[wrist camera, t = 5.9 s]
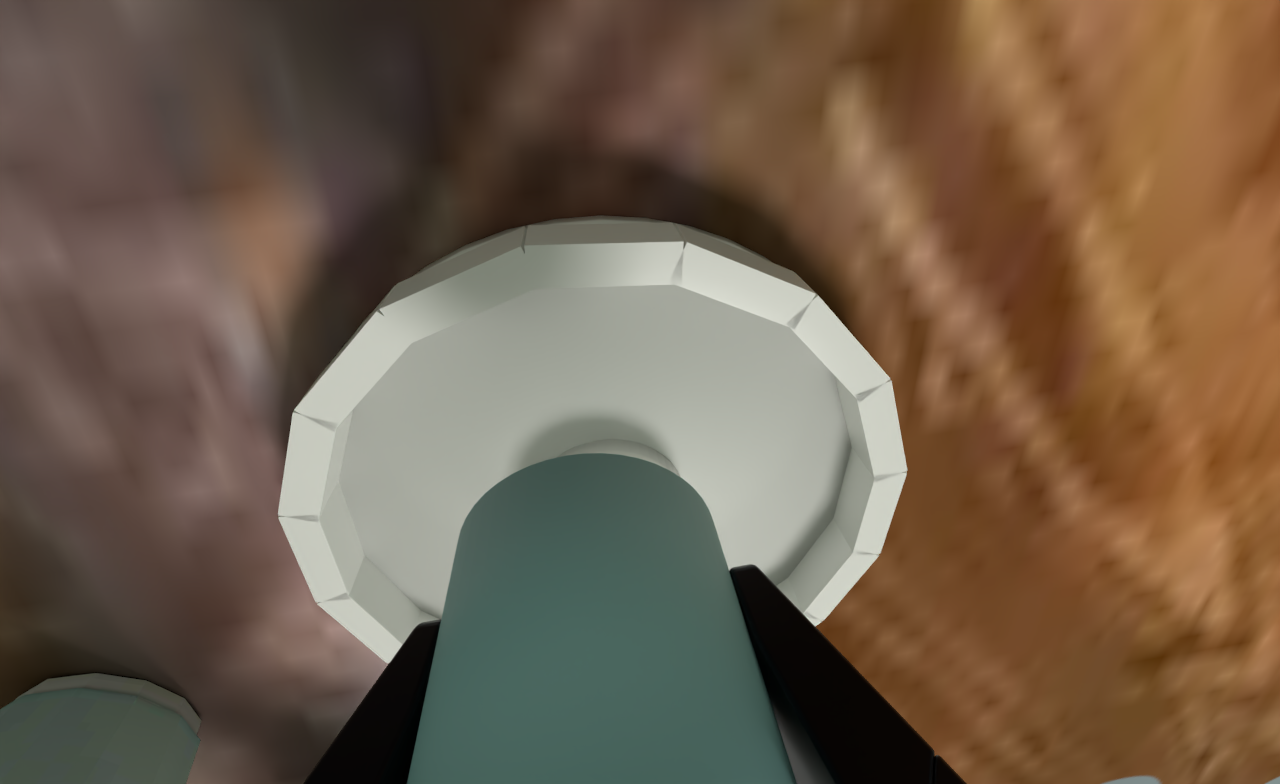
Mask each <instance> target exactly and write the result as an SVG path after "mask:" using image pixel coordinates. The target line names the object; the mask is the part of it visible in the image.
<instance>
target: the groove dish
mask: <svg viewBox="0 0 1280 784" xmlns="http://www.w3.org/2000/svg"><path fill="white" fill-rule="evenodd" d="M583 453H607V454H618V455H625V456H630V457H635V458H639V459H642V460H646V461H649V462H652V463H655V464H657V465H659V466H661V467H664V468H666V469H668V470H670V471H672V472H673V473H675V474H676V475H678V476H679V477H681V478H683V479H684V480H685V481H686V482H687V483H688V484H690V485H691V486H692V487H693V488H694V489H695V490H696V491H697V492H698V494H699V495H700V496H701V497H702V498H703V500H704V502H705V503H706V505H707V507H708V508H709V511H710V513H711V516H712V519H713V522H714V525H715V528H716V531H717V534H718V537H719V540H720V544H721V547H722V550H723V553H724V556H725V559H726V562H727V566H728V569H729V571H730V569H731V568H733V567H737V566H743V565H749V564H753V565H756V566H757V567H758V568H759V569H760V570H761V571H762V572H763V573H764V574H765V575H766V576H767V577H768V578H769V579H770V580H771V581H772V582H773V583H774V584H775V585H776V586H777V587H778V588H779V589H780V591H781V592H782V593H783V594H784V595H785V596H786V597H787V598H788V599H789V600H790V601H791V602H792V603H793V604H794V605H795V606H796V607H797V608H798V609H799V610H800V611H801V612H802V613H803V614H804V615H805V616H806V618H807V619H808V620H809V621H810V622H811V623H812V624H813V625H814V626H816V625H818V624H820V623H821V622H822V620H823V621H824V620H825V618H826V617H827V616H828V615H829V614H830V613H831V611H832V610H833V609H834V608H835V607H836V605H837V604H838V603H839V602H840V601H841V600H842V598H843V597H844V596H845V595H846V594H847V593H848V591H849V590H850V589H851V588H852V587H853V586H854V584H855V583H856V582H857V581H858V580H859V579H860V577H861V576H862V575H863V574H864V573H865V571H866V570H867V569H868V568H869V567H870V566H871V564H872V563H873V562H874V561H875V560H876V559H877V557H878V556H879V554H880V553H881V550H882V547H883V544H884V541H885V538H886V535H887V532H888V529H889V526H890V523H891V520H892V517H893V514H894V511H895V508H896V505H897V502H898V499H899V496H900V493H901V490H902V487H903V484H904V481H905V478H906V475H907V472H906V471H907V466H906V460H905V455H904V449H903V443H902V438H901V432H900V426H899V421H898V415H897V409H896V404H895V398H894V393H893V387H892V381H891V380H890V378H889V377H888V375H887V374H886V373H885V372H884V371H883V370H882V368H881V367H880V366H879V365H878V364H877V363H876V361H875V360H874V359H873V358H872V357H871V356H870V355H869V353H868V352H867V351H866V350H865V349H864V348H863V346H862V345H861V344H860V343H859V342H858V341H857V340H856V338H855V337H854V336H853V335H852V334H851V333H850V331H849V330H848V329H847V328H846V327H845V326H844V324H843V323H842V322H841V321H840V320H839V319H838V318H837V316H836V315H835V314H834V313H833V312H832V311H831V309H830V308H829V307H828V306H827V305H826V304H825V303H824V301H823V300H822V299H821V298H820V297H819V296H818V295H817V294H816V293H815V292H814V291H813V290H812V289H811V288H810V287H809V286H808V285H807V284H806V283H805V282H804V281H803V280H802V279H801V278H800V277H799V276H798V275H797V274H796V273H794V272H793V271H791V270H789V269H786V268H784V267H782V266H779V265H777V264H774V263H772V262H771V261H770V260H768V259H767V258H765V257H764V256H762V255H760V254H758V253H756V252H754V251H752V250H750V249H748V248H746V247H744V246H742V245H740V244H738V243H736V242H734V241H732V240H730V239H728V238H725V237H721V236H718V235H715V234H712V233H709V232H706V231H703V230H700V229H697V228H694V227H691V226H688V225H683V224H677V223H672V222H667V221H661V220H656V219H650V218H645V217H623V216H602V215H598V216H586V217H574V218H563V219H552V220H548V221H543V222H539V223H534V224H530V225H525V226H521V227H516V228H512V229H507V230H505V231H502V232H499V233H497V234H494V235H491V236H489V237H486V238H483V239H480V240H478V241H475V242H472V243H470V244H467V245H464V246H463V247H461V248H459V249H457V250H455V251H453V252H451V253H450V254H448V255H446V256H444V257H442V258H440V259H438V260H437V261H435V262H433V263H431V264H429V265H427V266H426V267H424V268H423V269H422V270H420V271H419V272H418V273H416V274H415V275H414V276H412V277H410V278H408V279H406V280H404V281H402V282H399V283H397V284H396V286H394V287H393V288H392V289H391V290H390V291H389V293H388V294H387V295H386V296H385V297H384V299H383V300H382V301H381V302H380V303H379V305H378V306H377V307H376V308H375V309H374V311H373V312H372V313H371V314H370V315H369V316H368V317H367V318H366V319H365V320H364V321H363V322H362V324H361V325H360V327H359V328H358V329H357V331H356V332H355V333H354V335H353V336H352V337H351V338H350V339H349V341H348V342H347V343H346V344H345V345H344V347H343V348H342V349H341V350H340V351H339V353H338V354H337V355H336V356H335V357H334V359H333V360H332V361H331V362H330V363H329V365H328V366H327V367H326V368H325V369H324V371H323V372H322V373H321V374H320V375H319V377H318V378H317V379H316V381H315V382H314V383H313V385H312V386H311V387H310V389H309V390H308V391H307V393H306V394H305V396H304V397H303V398H302V400H301V401H300V402H299V404H298V405H297V406H296V408H295V409H294V411H293V414H292V421H291V428H290V435H289V442H288V448H287V455H286V462H285V469H284V476H283V483H282V489H281V496H280V503H279V510H278V515H279V517H278V518H279V521H280V523H281V525H282V527H283V530H284V532H285V534H286V536H287V539H288V541H289V543H290V545H291V548H292V550H293V552H294V554H295V557H296V559H297V561H298V563H299V566H300V568H301V570H302V572H303V575H304V577H305V579H306V582H307V584H308V586H309V588H310V591H311V593H312V595H313V597H314V600H315V602H318V603H317V604H318V605H319V606H320V607H321V608H322V609H324V610H325V611H326V612H327V613H328V614H329V615H331V616H332V617H333V618H334V619H335V620H336V621H338V622H339V623H340V624H341V625H342V626H344V627H345V628H346V629H347V630H348V631H349V632H351V633H352V634H353V635H354V636H355V637H356V638H358V639H359V640H360V641H361V642H362V643H364V644H365V645H366V646H367V647H368V648H369V649H371V650H372V651H373V652H374V653H375V654H376V655H378V656H379V657H380V658H381V659H382V660H384V661H385V662H386V663H390V662H391V660H392V659H393V657H394V656H395V654H396V653H397V652H398V650H399V649H400V647H401V646H402V645H403V643H404V642H405V640H406V639H407V638H408V636H409V635H410V633H411V632H412V631H413V629H414V628H415V627H416V626H417V625H418V624H420V623H422V622H427V621H432V620H438V619H442V614H443V609H444V605H445V600H446V595H447V590H448V586H449V581H450V576H451V571H452V567H453V562H454V557H455V552H456V548H457V543H458V539H459V534H460V530H461V528H462V526H463V523H464V521H465V519H466V517H467V515H468V514H469V512H470V511H471V509H472V508H473V506H474V505H475V504H476V503H477V502H478V500H479V499H480V498H481V497H482V496H483V495H484V494H485V493H486V492H487V491H489V490H490V489H491V488H492V487H493V486H495V485H496V484H497V483H498V482H500V481H502V480H503V479H505V478H506V477H508V476H509V475H511V474H513V473H515V472H517V471H519V470H521V469H523V468H525V467H528V466H530V465H533V464H536V463H539V462H542V461H545V460H548V459H553V458H557V457H561V456H567V455H575V454H583Z"/></svg>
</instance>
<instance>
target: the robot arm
mask: <svg viewBox="0 0 1280 784" xmlns="http://www.w3.org/2000/svg"><path fill="white" fill-rule="evenodd" d="M729 572H730V575H731V579H732V582H733V585H734V588H735V591H736V594H737V597H738V601H739V604H740V607H741V610H742V613H743V616H744V619H745V623H746V626H747V629H748V632H749V635H750V638H751V641H752V644H753V648H754V651H755V654H756V657H757V660H758V663H759V666H760V669H761V672H762V675H763V679H764V682H765V685H766V688H767V691H768V694H769V697H770V701H771V704H772V707H773V710H774V713H775V716H776V719H777V723H778V726H779V729H780V732H781V735H782V738H783V741H784V745H785V748H786V751H787V754H788V757H789V760H790V763H791V766H792V770H793V773H794V776H795V779H796V782H797V784H966V783H965V782H964V781H963V779H962V778H961V777H960V776H959V775H958V774H957V773H956V772H955V771H954V770H953V769H952V768H951V767H950V766H949V765H948V764H947V763H946V762H945V761H944V760H943V759H942V758H941V757H940V756H939V755H936V756H935V757H934V750H933V749H932V748H931V746H930V745H929V744H928V743H927V742H926V741H925V740H924V739H923V738H922V737H921V736H920V735H919V734H918V733H917V732H916V731H915V730H914V729H913V728H912V727H911V726H910V725H909V724H908V723H907V722H906V720H905V719H904V718H903V717H902V716H901V715H900V714H899V713H898V712H897V711H896V710H895V709H894V708H893V707H892V706H891V705H890V704H889V703H888V702H887V701H886V700H885V699H884V698H883V697H882V696H881V694H880V693H879V692H878V691H877V690H876V689H875V688H874V687H873V686H872V685H871V684H870V683H869V682H868V681H867V680H866V679H865V678H864V677H863V676H862V675H861V674H860V673H859V672H858V671H857V670H856V668H855V667H854V666H853V665H852V664H851V663H850V662H849V661H848V660H847V659H846V658H845V657H844V656H843V655H842V654H841V653H840V652H839V651H838V650H837V649H836V648H835V647H834V646H833V645H832V644H831V642H830V641H829V640H828V639H827V638H826V637H825V636H824V635H823V634H822V633H821V632H820V631H819V630H818V629H817V628H816V627H815V626H814V625H813V624H812V623H811V622H810V621H809V620H808V619H807V618H806V616H805V615H804V614H803V613H802V612H801V611H800V610H799V609H798V608H797V607H796V606H795V605H794V604H793V603H792V602H791V601H790V600H789V599H788V598H787V597H786V596H785V595H784V594H783V593H782V592H781V591H780V589H779V588H778V587H777V586H776V585H775V584H774V583H773V582H772V581H771V580H770V579H769V578H768V577H767V576H766V575H765V574H764V573H763V572H762V571H761V570H760V569H759V568H758V567H757V566H756V565H753V564H749V565H743V566H737V567H733V568H731V569H730V571H729ZM440 624H441V619H438V620H432V621H427V622H422V623H420V624H418V625H417V626H416V627H415V628H414V629H413V631H412V632H411V633H410V635H409V636H408V638H407V639H406V640H405V642H404V643H403V645H402V646H401V647H400V649H399V650H398V652H397V653H396V654H395V656H394V657H393V659H392V660H391V662H390V663H389V664H388V666H387V667H386V669H385V670H384V671H383V673H382V674H381V676H380V677H379V678H378V680H377V681H376V683H375V684H374V685H373V687H372V688H371V690H370V691H369V692H368V694H367V695H366V697H365V698H364V699H363V701H362V702H361V704H360V705H359V706H358V708H357V709H356V711H355V712H354V713H353V715H352V716H351V718H350V719H349V720H348V722H347V723H346V725H345V726H344V727H343V729H342V730H341V732H340V733H339V734H338V736H337V737H336V739H335V740H334V741H333V743H332V744H331V746H330V747H329V748H328V750H327V751H326V753H325V754H324V755H323V757H322V758H321V760H320V761H319V762H318V764H317V765H316V767H315V768H314V769H313V771H312V772H311V774H310V775H309V776H308V778H307V779H306V781H305V782H304V783H303V784H407V781H408V776H409V771H410V766H411V762H412V757H413V752H414V747H415V743H416V738H417V733H418V728H419V723H420V719H421V714H422V709H423V704H424V700H425V695H426V690H427V685H428V681H429V676H430V671H431V666H432V662H433V657H434V652H435V647H436V643H437V638H438V633H439V628H440Z"/></svg>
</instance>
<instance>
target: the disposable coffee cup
mask: <svg viewBox="0 0 1280 784" xmlns="http://www.w3.org/2000/svg"><path fill="white" fill-rule="evenodd" d="M200 724H201V720H200V718H199V717H198V715H197V714H196V713H195V711H194V710H193V709H192V707H191V706H190V705H189V703H188V702H187V701H186V699H185V698H183V697H181V696H179V695H176V694H174V693H172V692H170V691H168V690H166V689H164V688H161V687H159V686H157V685H155V684H153V683H151V682H149V681H146V680H139V679H133V678H126V677H119V676H112V675H106V674H99V673H92V674H84V675H76V676H68V677H60V678H52V679H47V680H45V681H43V682H42V683H40V684H38V685H37V686H35V687H33V688H32V689H30V690H28V691H27V692H25V693H23V694H22V695H20V696H19V697H17V698H16V699H15V700H14V701H13V702H11V703H9V704H8V705H6V706H4V707H3V708H1V709H0V784H186V781H187V779H188V776H189V773H190V770H191V767H192V764H193V761H194V758H195V755H196V752H197V749H198V746H199V743H200V739H199V738H198V736H197V733H198V730H199V727H200Z"/></svg>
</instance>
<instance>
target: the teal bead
mask: <svg viewBox="0 0 1280 784" xmlns="http://www.w3.org/2000/svg"><path fill="white" fill-rule="evenodd" d="M407 784H797V782H796V779H795V776H794V773H793V770H792V766H791V763H790V760H789V757H788V754H787V751H786V748H785V745H784V741H783V738H782V735H781V732H780V729H779V726H778V723H777V719H776V716H775V713H774V710H773V707H772V704H771V701H770V697H769V694H768V691H767V688H766V685H765V682H764V679H763V675H762V672H761V669H760V666H759V663H758V660H757V657H756V654H755V651H754V648H753V644H752V641H751V638H750V635H749V632H748V629H747V626H746V623H745V619H744V616H743V613H742V610H741V607H740V604H739V601H738V597H737V594H736V591H735V588H734V585H733V582H732V579H731V575H730V572H729V569H728V566H727V562H726V559H725V556H724V553H723V550H722V547H721V544H720V540H719V537H718V534H717V531H716V528H715V525H714V522H713V519H712V516H711V513H710V511H709V508H708V507H707V505H706V503H705V502H704V500H703V498H702V497H701V496H700V495H699V494H698V492H697V491H696V490H695V489H694V488H693V487H692V486H691V485H690V484H688V483H687V482H686V481H685V480H684V479H683V478H681V477H679V476H678V475H676V474H675V473H673V472H672V471H670V470H668V469H666V468H664V467H661V466H659V465H657V464H655V463H652V462H649V461H646V460H642V459H639V458H635V457H630V456H625V455H618V454H607V453H583V454H575V455H567V456H561V457H557V458H553V459H548V460H545V461H542V462H539V463H536V464H533V465H530V466H528V467H525V468H523V469H521V470H519V471H517V472H515V473H513V474H511V475H509V476H508V477H506V478H505V479H503V480H502V481H500V482H498V483H497V484H496V485H495V486H493V487H492V488H491V489H490V490H489V491H487V492H486V493H485V494H484V495H483V496H482V497H481V498H480V499H479V500H478V502H477V503H476V504H475V505H474V506H473V508H472V509H471V511H470V512H469V514H468V515H467V517H466V519H465V521H464V523H463V526H462V528H461V530H460V534H459V539H458V543H457V548H456V552H455V557H454V562H453V567H452V571H451V576H450V581H449V586H448V590H447V595H446V600H445V605H444V609H443V614H442V619H441V624H440V628H439V633H438V638H437V643H436V647H435V652H434V657H433V662H432V666H431V671H430V676H429V681H428V685H427V690H426V695H425V700H424V704H423V709H422V714H421V719H420V723H419V728H418V733H417V738H416V743H415V747H414V752H413V757H412V762H411V766H410V771H409V776H408V781H407Z"/></svg>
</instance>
